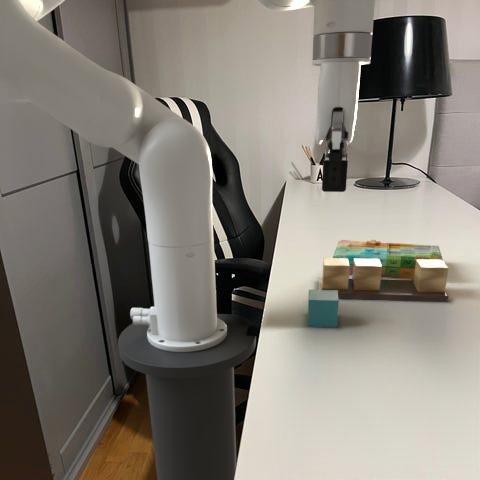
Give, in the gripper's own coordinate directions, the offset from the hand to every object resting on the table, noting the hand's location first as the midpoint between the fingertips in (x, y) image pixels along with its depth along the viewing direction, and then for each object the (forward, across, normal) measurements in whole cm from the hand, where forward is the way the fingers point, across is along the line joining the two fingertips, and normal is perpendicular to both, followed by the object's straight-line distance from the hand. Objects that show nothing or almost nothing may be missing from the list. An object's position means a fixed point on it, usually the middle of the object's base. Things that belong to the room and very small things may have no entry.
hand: (334, 185), depth 72 cm
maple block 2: (+19, -11, +6) cm, 23 cm away
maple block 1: (+19, -11, +1) cm, 22 cm away
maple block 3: (+19, -12, +17) cm, 28 cm away
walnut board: (+20, -11, +9) cm, 25 cm away
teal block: (+20, +3, -1) cm, 20 cm away
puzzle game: (+20, -24, +11) cm, 33 cm away
